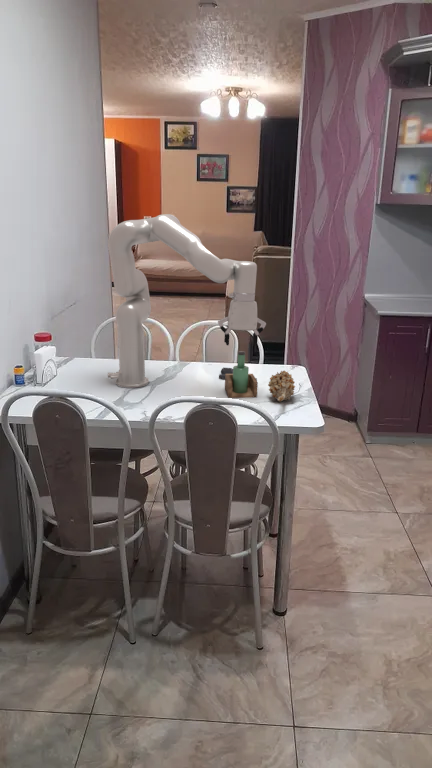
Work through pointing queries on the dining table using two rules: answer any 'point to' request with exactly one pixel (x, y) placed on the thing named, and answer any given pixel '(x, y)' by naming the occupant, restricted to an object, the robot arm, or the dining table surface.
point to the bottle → (240, 375)
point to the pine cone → (282, 386)
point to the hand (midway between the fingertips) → (240, 344)
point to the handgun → (226, 371)
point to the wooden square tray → (250, 394)
